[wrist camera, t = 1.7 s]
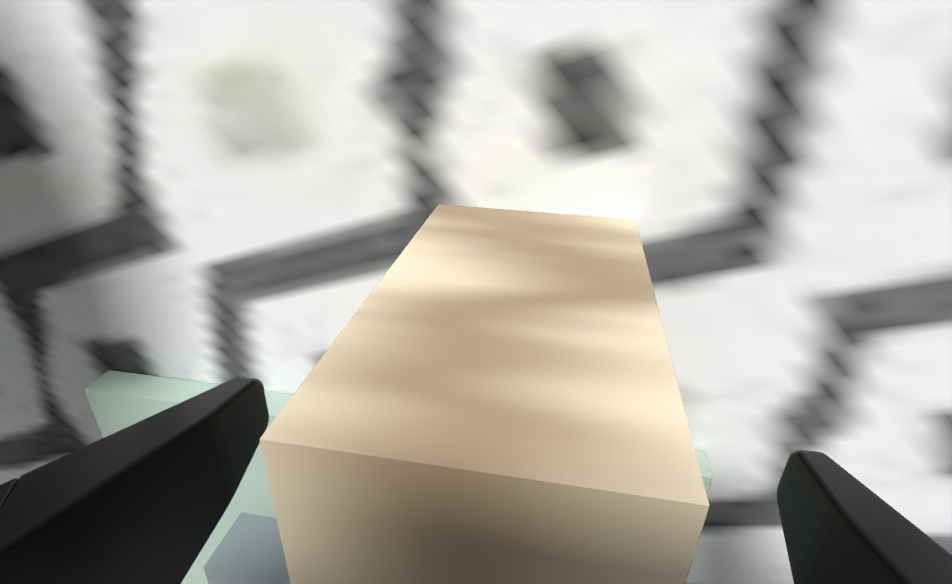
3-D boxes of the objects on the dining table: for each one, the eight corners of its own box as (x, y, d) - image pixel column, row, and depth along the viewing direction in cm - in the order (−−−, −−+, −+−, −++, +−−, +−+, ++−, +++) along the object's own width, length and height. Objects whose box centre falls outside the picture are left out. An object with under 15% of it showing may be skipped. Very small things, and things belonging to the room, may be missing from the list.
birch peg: (635, 219, 12) (708, 505, 5) (607, 383, 14) (633, 747, 7) (438, 204, 13) (259, 438, 6) (440, 362, 15) (311, 678, 8)
